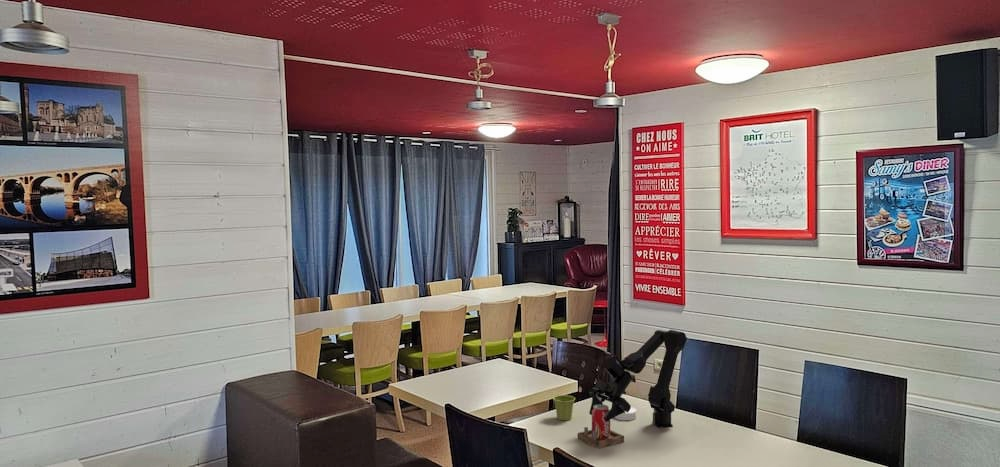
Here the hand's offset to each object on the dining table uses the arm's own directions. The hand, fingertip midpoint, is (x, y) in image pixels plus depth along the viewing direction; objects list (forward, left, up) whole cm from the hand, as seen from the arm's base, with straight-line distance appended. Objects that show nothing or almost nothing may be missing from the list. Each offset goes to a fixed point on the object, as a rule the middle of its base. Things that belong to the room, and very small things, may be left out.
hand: (597, 417), depth 243 cm
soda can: (-1, -1, -8) cm, 8 cm away
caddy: (-1, -1, -9) cm, 9 cm away
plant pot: (+7, -28, -9) cm, 30 cm away
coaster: (-19, -26, -9) cm, 33 cm away
